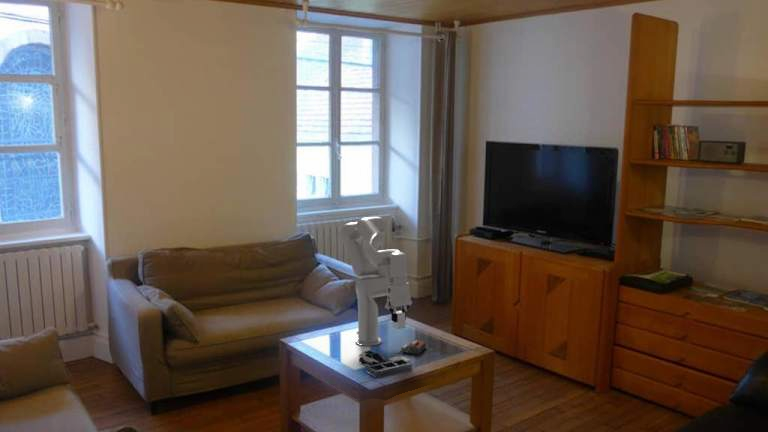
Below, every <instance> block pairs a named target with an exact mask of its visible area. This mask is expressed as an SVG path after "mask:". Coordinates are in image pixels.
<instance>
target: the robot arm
mask: <svg viewBox="0 0 768 432" xmlns="http://www.w3.org/2000/svg"><path fill="white" fill-rule="evenodd" d="M387 226H388V225H387V222H386V219H384V218H383V217H381V216H370V217H363V218H360V219H358V221H353V222H347V223H345V224H343V225H342V226H341V228H340V232H339V235H340V236H339V237H340V240H341V242H342V243H341V244H342V245H343V247H344V249H345V250H346V252H347V254H348V258H349V261H350V264H351V268H352V270H353V271H352V272H353V273H354V275H355V277H357V278H362V279H359V280H358V281H357V282H356V283H355V292H356V298H357V314H358V315H357V317H358V318H357V319H358V320H357V321H358V324H357V325H358V328H357V329H358V331H357V332H356V334H357V336H358V337H357V338H359V339H358V341H357V342H358V343H359V344H362V345H367V346H366V347H372V346H373V347H374V346H377V345H380V344H382V338H380V337H379V307H378V303H377V302H376V300H375V299H374V298H378V297H385V296H386V303H385V305H384V309H387V310H388V311H389V312H390V313H391V315H390V316H391V317H390V318H391V322H392V323H393V322H397V314H396V311H397V308H400V307H401V310H400V311H403V312H405V321H407V312H408V309H409V307H410V306H412V304H413V301H412V299H411V298H412V297H411V295H412V293H411V289H410V283H409V282H408V264H407V263H408V258H407V257H408V256H407V254H406V253H405V252H402V251H400V250H399V249H397V248H394V249H393V248H392V249H380V250H377V248H380V246H382V244H383V243H384V240H385V235H384V234H385V233H386V231H387V228H388V227H387ZM358 240H364V241H365V243H366V244H365V245H366V246H365V247H364V246H363V245H362V243H360V242H359V241H358ZM387 267H389V272H388V268H387ZM362 345H361V346H362Z"/></svg>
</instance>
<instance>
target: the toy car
mask: <svg viewBox="0 0 768 432" xmlns="http://www.w3.org/2000/svg"><path fill="white" fill-rule="evenodd" d="M358 356H359V359H358V362H359V363H360V362H361V363H363V364H365V362H366V363H368V364H370V365H375V364H379V363H384V362H387V360H385V358H384V357H383V356H381V355H380V354H379V353H378V352H375V351H371V350H365V351H362V352H361V353H359V355H358ZM361 363H360V364H361Z"/></svg>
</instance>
